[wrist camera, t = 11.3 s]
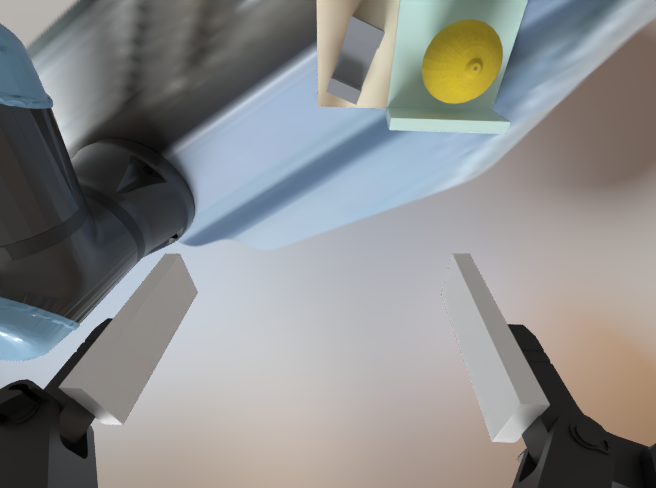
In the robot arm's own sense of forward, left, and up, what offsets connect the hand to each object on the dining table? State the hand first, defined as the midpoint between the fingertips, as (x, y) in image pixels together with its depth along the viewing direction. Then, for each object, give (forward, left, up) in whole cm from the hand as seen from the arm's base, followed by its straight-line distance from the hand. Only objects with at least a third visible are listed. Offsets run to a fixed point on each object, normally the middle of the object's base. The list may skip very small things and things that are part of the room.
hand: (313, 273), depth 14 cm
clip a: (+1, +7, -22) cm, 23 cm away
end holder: (+10, +8, -22) cm, 25 cm away
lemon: (+9, +8, -21) cm, 24 cm away
